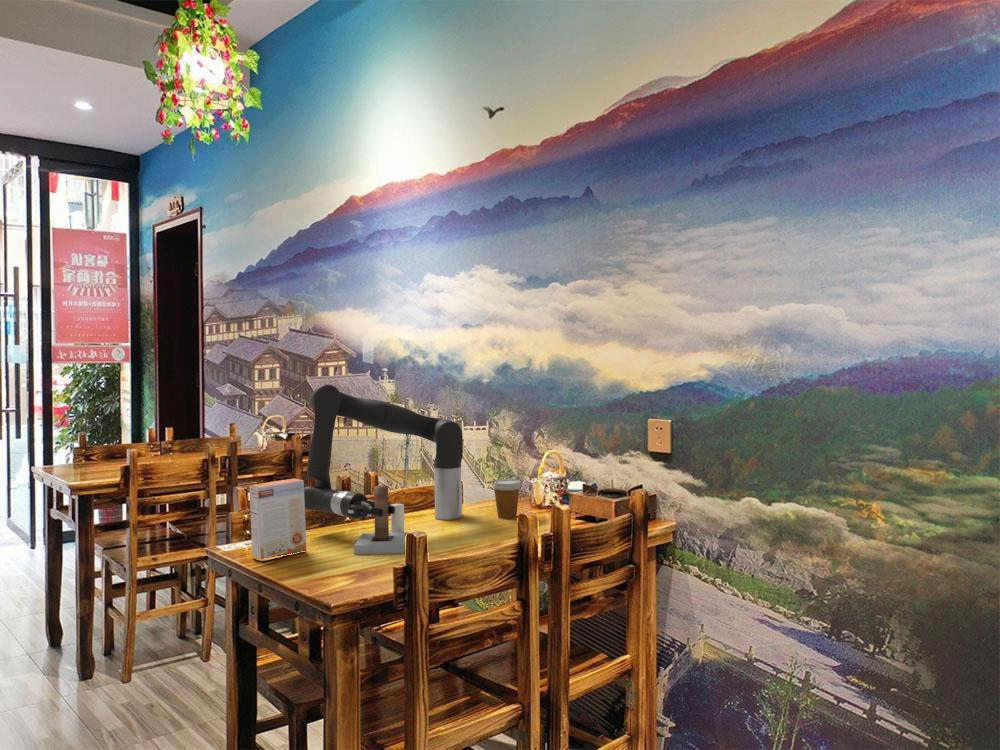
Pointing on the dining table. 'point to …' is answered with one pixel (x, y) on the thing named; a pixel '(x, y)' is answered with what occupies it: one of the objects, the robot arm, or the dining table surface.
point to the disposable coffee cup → (506, 497)
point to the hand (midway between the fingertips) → (388, 511)
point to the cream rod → (397, 518)
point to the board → (380, 544)
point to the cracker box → (277, 518)
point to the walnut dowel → (383, 521)
